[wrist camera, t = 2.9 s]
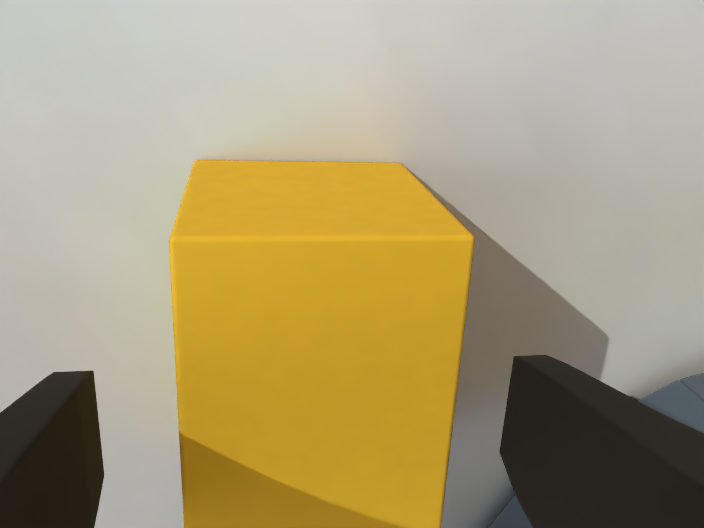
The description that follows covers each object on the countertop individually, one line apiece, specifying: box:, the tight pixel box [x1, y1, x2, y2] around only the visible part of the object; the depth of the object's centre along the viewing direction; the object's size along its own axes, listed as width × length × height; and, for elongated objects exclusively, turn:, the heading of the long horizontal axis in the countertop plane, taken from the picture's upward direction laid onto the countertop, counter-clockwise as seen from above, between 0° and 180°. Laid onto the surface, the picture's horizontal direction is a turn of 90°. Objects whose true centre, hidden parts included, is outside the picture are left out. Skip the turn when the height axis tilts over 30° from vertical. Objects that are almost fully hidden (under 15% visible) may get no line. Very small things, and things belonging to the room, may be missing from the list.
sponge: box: [169, 160, 475, 528], centre depth 13 cm, size 4×7×5 cm, turn 178°
